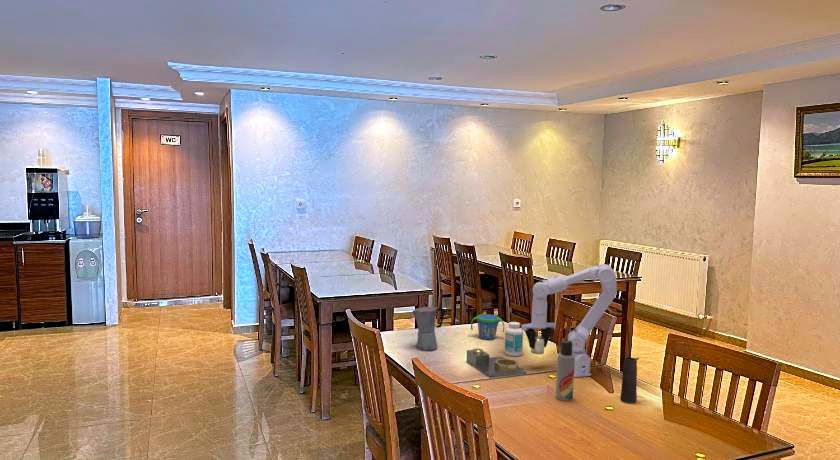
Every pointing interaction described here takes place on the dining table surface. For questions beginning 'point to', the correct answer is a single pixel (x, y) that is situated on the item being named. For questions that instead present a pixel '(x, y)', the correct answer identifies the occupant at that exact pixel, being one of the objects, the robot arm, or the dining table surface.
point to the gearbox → (493, 364)
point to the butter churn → (629, 377)
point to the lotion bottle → (565, 372)
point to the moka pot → (427, 326)
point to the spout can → (538, 345)
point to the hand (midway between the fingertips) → (537, 347)
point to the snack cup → (487, 325)
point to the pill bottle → (513, 339)
